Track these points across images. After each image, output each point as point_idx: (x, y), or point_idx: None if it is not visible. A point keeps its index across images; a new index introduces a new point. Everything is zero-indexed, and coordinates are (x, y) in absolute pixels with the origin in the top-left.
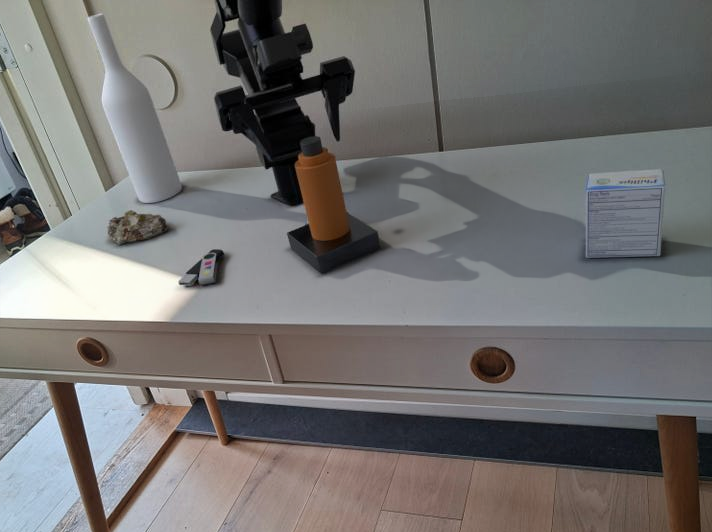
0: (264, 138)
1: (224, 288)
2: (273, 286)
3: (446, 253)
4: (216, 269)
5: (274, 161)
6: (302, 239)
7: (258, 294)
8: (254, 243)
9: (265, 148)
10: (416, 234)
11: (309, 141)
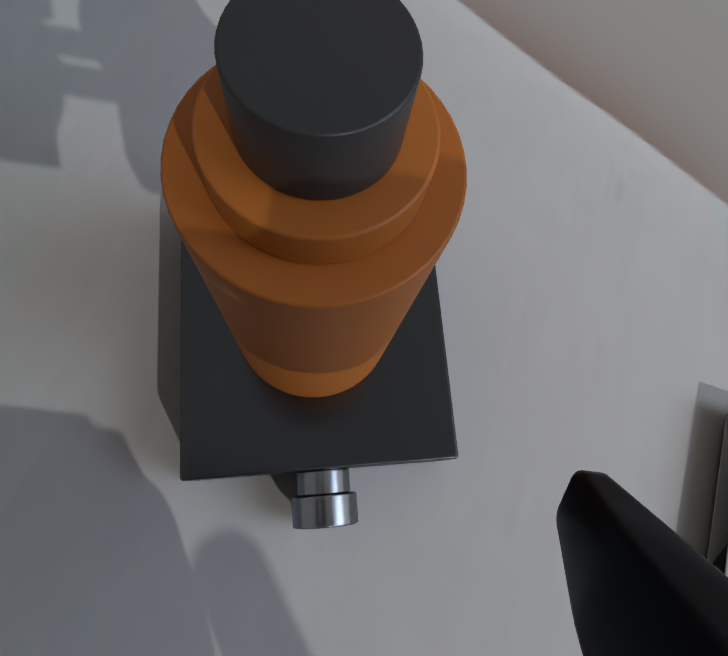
0: (714, 616)
1: (696, 362)
2: (556, 261)
3: (70, 69)
4: (715, 507)
5: None
6: (424, 347)
7: (605, 250)
8: (549, 635)
9: (671, 534)
10: (54, 228)
11: (341, 16)
